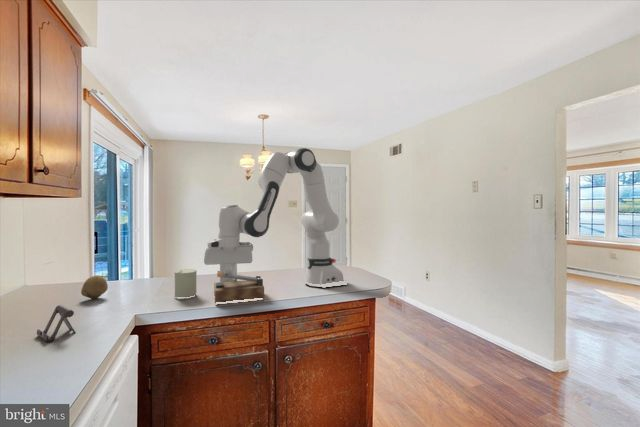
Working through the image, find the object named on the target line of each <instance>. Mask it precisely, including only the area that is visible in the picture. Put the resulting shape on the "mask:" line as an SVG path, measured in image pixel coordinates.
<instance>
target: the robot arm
mask: <svg viewBox="0 0 640 427" xmlns="http://www.w3.org/2000/svg"><path fill="white" fill-rule="evenodd" d="M315 156H316V155H315V154H314V152H313V151H312V150H311V149H309V148H306V147H302V148H299V149H293V150H291V151H289V152H286V153H284V152H281V151H280V152H279V151H276V152H275V151H274V152H273V153H271V155H270V156H269V157H268V159H267V160H266V162H265V163H264V165H263V167H262V168H261V170H260V172H259V175H258V179H257V184H258V186H259V188H260V189H261V190H262V195H261V198H260V201H259V203H258V205H257V208H256V210H255V211H254V212H249V211H247V210H244V209H243V208H241V207H240V206H239V205H238V204H231V205H230V204H229V205H225V206H223V207H222V208H220V210H219V216H218V228H219V231H218V232H219V233H218V237H217V238H214V239H212V240H209V241H208V242H207V248H206V249H205V252H204V257H203V258H204V259H203V263H204V265H206V266H209V265H212V266H213V265H220V264H222V267H223V269H224V270H225V274H228V270H226V268H225V266H226V264H231V265H232V268H231V269H230V270H229V274H232V270H233V269H234V267H235V264H237V265H238V264H240V265H241V264H252V262H253V253H252V252H253V250H254V245H253V243H251V242H249V241H247V242H246V241H241V242H240V237H241V235H240V234H245V235H247V236H248V235H249V236H251V237H253V238H260V237H263V236H264V235H265V234H266V233H267V232H268V230H269V227H270V218H271V214H272V211H273V209H274V207H275V204H276V201H277V198H278V195H279V192H280V188H281V186H282V185H283V182H284V179H285V177H286V175H287V174H296V173H300V175H301V177H302V183H303V184H302V185H303V191H304V197H305V201H306V202H307V203H308V205H309V207H310V210H307V211H305V212H304V213H303V214H302V216H301V219H300V220H301V224H302V227H303V228H304V229H305V234H306V238H307V242H308V243H307V245H308V248H307V251H308V253H307V254H308V256H307V258H306V259H307V262H306V266H307V271H306V272H307V273H306V278H305V282H308V283H312V284H320V285H321V284H326V283H332V282H339V281H344V280H345V279H344V274H343V272H342V271H341V270H340V269H339V268H338V267H336V266H335V265H334V264H335V263H336V262H337V260H336V258H332V257H330V242H329V240H328V238H327V235H326V233H328V232H332V231H333V232H334V231H335V230H336V229H337V228H338V226H339V220H340V218H339V217H338V215H337V213H335V211H334V210H333V209H332V206H331V205H330V202H329V198H328V196H327V189H326V183H325V176H324V173H323V169H322V166H321V164H319V163H318V162H317V160H316V157H315Z"/></svg>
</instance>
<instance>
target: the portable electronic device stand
mask: <svg viewBox="0 0 640 427" xmlns="http://www.w3.org/2000/svg"><path fill="white" fill-rule="evenodd" d="M57 314H59V316H60V319H59V320H58V322H57V324H56V327H55V329H54V331H53V333H52V335H49V334H48V332H49V331H50V330H49V329H50V328H51V326H52V324H53V321H54V320H55V317H56V315H57ZM74 314H75V312H74V310H72V309H70V308H68V307H67V306H64V305H63V304H60V305H57V306H56V307H55V308H54V311H53V312H52V315H51V317H50V318H49V320H48V322H47V324H46V326H45V327H44V328H45V329H44V330H43V331H42V330H40V329H39V328H38V329H36V335H37V336H38V337H39V338H41V339H42V341H45V342H46V343H48V344H50V343H53V342H54V340H55V339H56V337H57V334H58V332H59V330H60V328H61V326H62V324H63V322H64V324H65V326H66V327H67V329H68V330H69V331H70V332H72V333H73V334H76V331H75V329H74V328H73V326H72V325H71V322H70V321H69V319H68V318H71V317H73V316H74Z"/></svg>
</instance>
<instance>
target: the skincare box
mask: <svg viewBox="0 0 640 427" xmlns="http://www.w3.org/2000/svg"><path fill="white" fill-rule="evenodd" d="M225 268H226V270H228V274H229V270H230V269H231V268H232V265H231V264H226V266H225ZM219 271H222V272H223V273H225V270H224V269H223V267H222V264H219ZM232 274H234V275H238V264H235V267H234V269H233V270H232ZM219 280H220V281H219V282H232V281H238V279H232V278H224V277H219Z"/></svg>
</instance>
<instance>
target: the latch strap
mask: <svg viewBox="0 0 640 427" xmlns="http://www.w3.org/2000/svg"><path fill="white" fill-rule="evenodd" d="M216 277H217V278H220V277H224V278H232V279H237V280H239V281H246V280H248V281H255V282H258V279H262V278H260V277H258V278H256V276H247V275H241V274H237V275H234V274H225V273H223V272H222V271H220V270H217V272H216Z"/></svg>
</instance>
